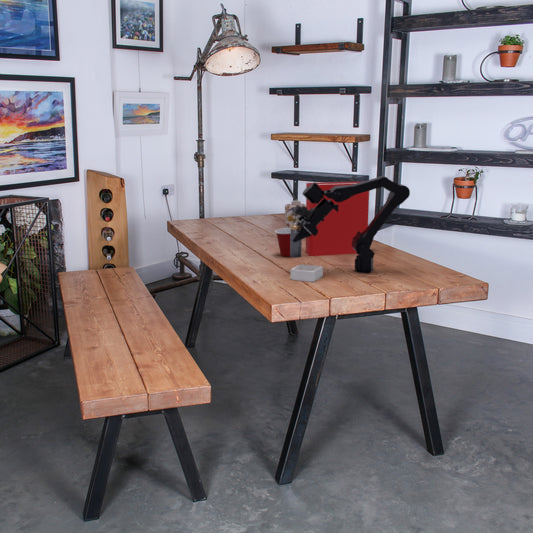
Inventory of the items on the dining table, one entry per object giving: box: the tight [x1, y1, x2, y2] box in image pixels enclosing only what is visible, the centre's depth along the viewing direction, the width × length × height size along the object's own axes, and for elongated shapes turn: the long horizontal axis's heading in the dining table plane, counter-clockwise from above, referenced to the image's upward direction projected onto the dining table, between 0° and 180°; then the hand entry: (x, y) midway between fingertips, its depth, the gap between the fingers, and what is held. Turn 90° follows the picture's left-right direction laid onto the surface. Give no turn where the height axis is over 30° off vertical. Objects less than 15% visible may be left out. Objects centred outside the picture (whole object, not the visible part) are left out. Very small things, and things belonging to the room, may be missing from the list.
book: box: [305, 180, 370, 257], centre depth 279 cm, size 27×8×32 cm, turn 103°
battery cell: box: [290, 223, 303, 259], centre depth 244 cm, size 4×4×13 cm
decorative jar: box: [284, 200, 306, 228], centre depth 323 cm, size 12×12×18 cm
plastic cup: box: [274, 227, 292, 258], centre depth 276 cm, size 11×11×12 cm
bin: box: [290, 263, 324, 283], centre depth 240 cm, size 10×10×4 cm
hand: (292, 240), depth 244 cm, fingers closed on battery cell, 4 cm apart
